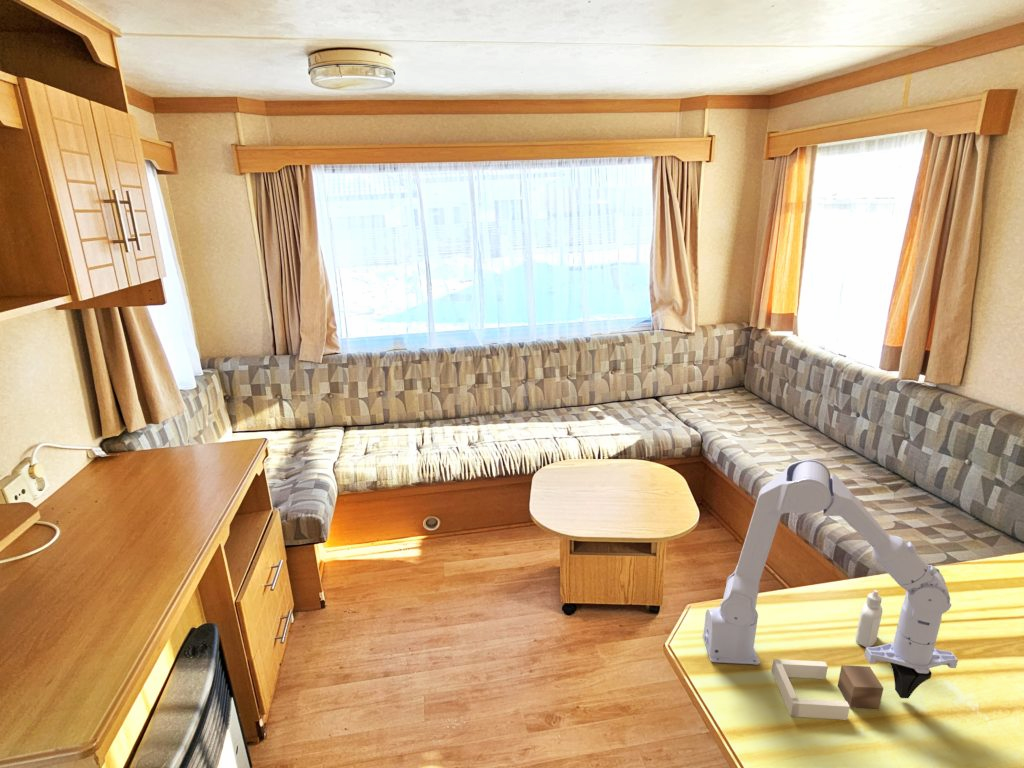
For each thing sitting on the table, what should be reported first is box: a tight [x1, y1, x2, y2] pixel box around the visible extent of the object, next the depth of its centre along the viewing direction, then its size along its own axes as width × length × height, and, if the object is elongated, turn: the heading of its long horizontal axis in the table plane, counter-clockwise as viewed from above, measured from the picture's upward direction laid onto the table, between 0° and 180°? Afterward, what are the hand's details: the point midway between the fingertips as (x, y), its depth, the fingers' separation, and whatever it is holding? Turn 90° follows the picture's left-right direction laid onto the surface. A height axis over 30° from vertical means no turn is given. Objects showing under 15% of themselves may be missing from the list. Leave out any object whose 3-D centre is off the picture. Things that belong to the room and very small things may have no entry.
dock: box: [771, 658, 851, 721], centre depth 109 cm, size 10×10×3 cm
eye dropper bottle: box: [855, 589, 883, 648], centre depth 120 cm, size 4×6×12 cm
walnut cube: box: [837, 664, 884, 711], centre depth 108 cm, size 5×5×5 cm
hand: (901, 693), depth 107 cm, fingers closed
